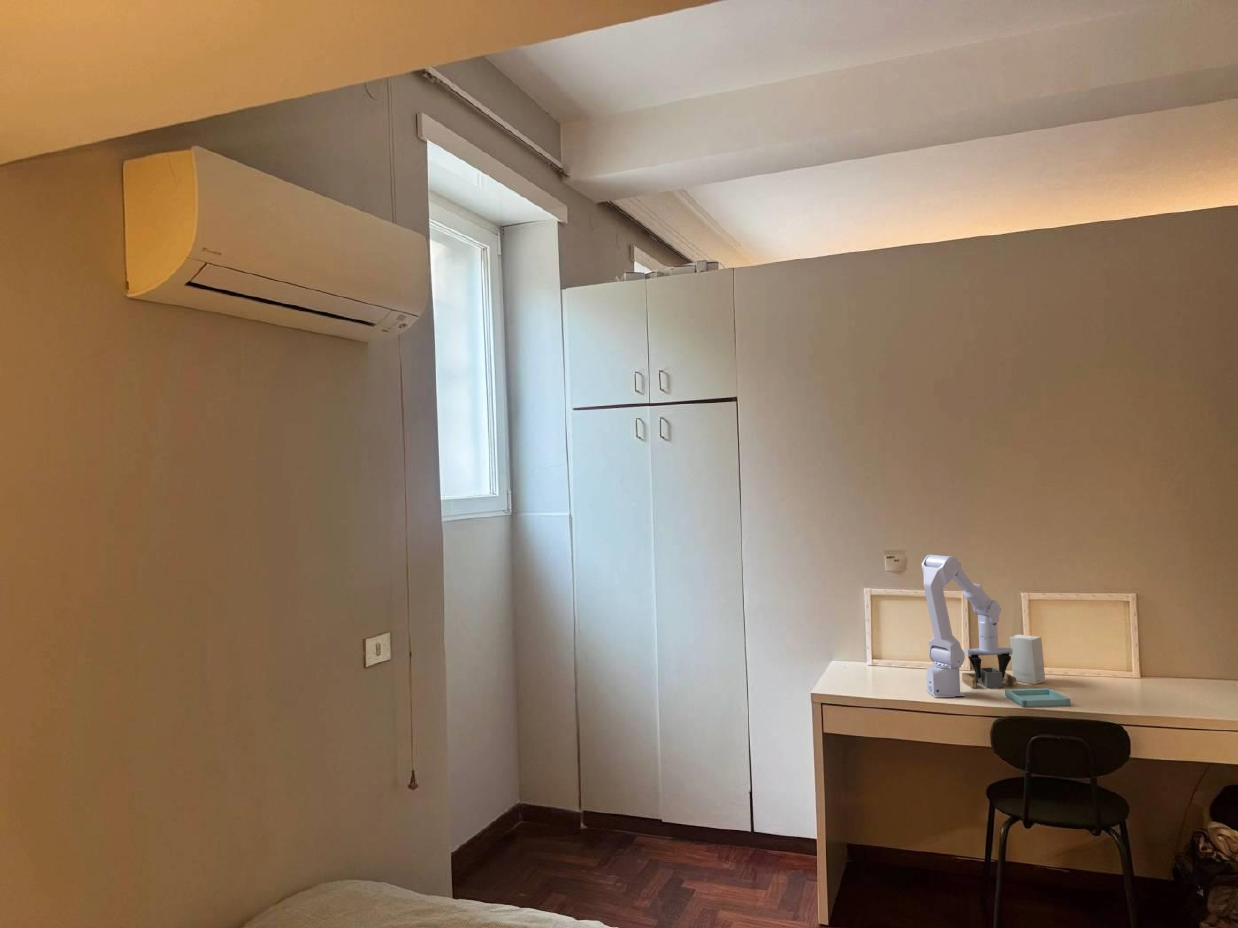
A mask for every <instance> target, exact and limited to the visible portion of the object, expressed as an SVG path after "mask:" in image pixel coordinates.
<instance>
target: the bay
mask: <svg viewBox="0 0 1238 928" xmlns="http://www.w3.org/2000/svg"><path fill="white" fill-rule="evenodd" d="M961 677H962V678H961V679H962V681H961V682H962V683H963V682H964V683H963V684H964V685H966V684H967V685H966V686H968V687H969V686H970V688H971V689H973V688H976V689H977V683H978V678H977V677H976V674H975V672H962V673H961ZM1002 680H1003V683H1005V684H1007V685H1008V686H1010V687H1011V688H1017V681H1016V678H1015V677H1013V674H1012V675H1011V674H1010V673H1007V671H1005V676H1004V678H1002Z"/></svg>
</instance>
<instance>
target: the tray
mask: <svg viewBox="0 0 1238 928" xmlns="http://www.w3.org/2000/svg"><path fill="white" fill-rule="evenodd" d="M1004 695H1005V696H1006V697H1005V696H1004V697H1005V698H1007V699H1008V700H1010V701H1012V702H1013V703H1015V704H1017V705H1019V706H1021V707H1022V708H1045V707H1048V708H1049V707H1050V708H1051V707H1071V706H1072V703H1071V698H1070V697H1067V696H1065V695H1064V694H1061V692H1058V691H1056V690H1054V689H1052V688H1050V687H1049V688H1047V687H1046V688H1027V689H1026V688H1025V689H1024V688H1023V689H1019V688H1018V689H1005V690H1004Z"/></svg>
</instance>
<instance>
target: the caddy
mask: <svg viewBox="0 0 1238 928" xmlns="http://www.w3.org/2000/svg"><path fill="white" fill-rule="evenodd" d="M980 669H981V678H978V682H977V683H978V684H979V683H980V684H979V685H981V686H982V685H983V686H982V687H984V688H986V689H1003V687H1004V686H1003V683H1004V682H1003V680H1002V672H1000V671H999V669H997V668H995V667H992V666H989V667H987V666H986V667H981V668H980Z"/></svg>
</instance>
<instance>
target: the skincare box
mask: <svg viewBox="0 0 1238 928" xmlns="http://www.w3.org/2000/svg"><path fill="white" fill-rule="evenodd" d="M1009 644H1010V645H1009V646H1010V647H1009V648H1011V649H1013V655H1010V656H1011V670H1012V676H1013V677H1015V678H1016V682H1021V683H1027V684H1032V685H1038V684H1042V683H1045V682H1046V673H1045V664H1044V663H1045V662H1044V651H1043V641H1042V636H1037V635H1036V636H1035V635H1026V634H1020V633H1019V634H1015V635H1011V636H1010V637H1009Z"/></svg>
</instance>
